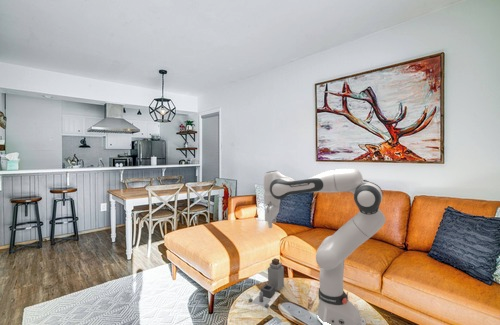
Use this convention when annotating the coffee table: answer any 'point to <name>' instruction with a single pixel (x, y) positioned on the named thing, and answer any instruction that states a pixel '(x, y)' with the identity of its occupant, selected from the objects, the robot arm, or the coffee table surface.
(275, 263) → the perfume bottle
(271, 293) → the dark grey hollow block
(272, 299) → the grey peg base plate
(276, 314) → the coffee table surface
